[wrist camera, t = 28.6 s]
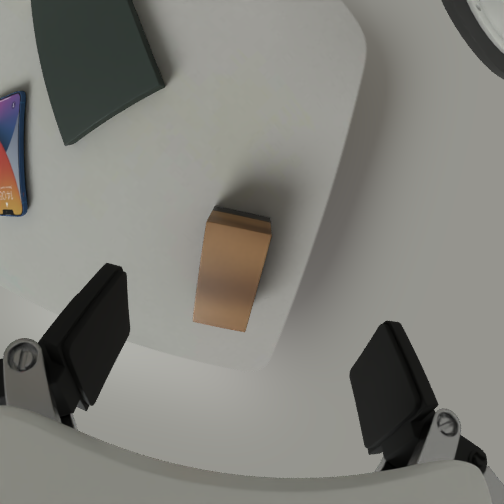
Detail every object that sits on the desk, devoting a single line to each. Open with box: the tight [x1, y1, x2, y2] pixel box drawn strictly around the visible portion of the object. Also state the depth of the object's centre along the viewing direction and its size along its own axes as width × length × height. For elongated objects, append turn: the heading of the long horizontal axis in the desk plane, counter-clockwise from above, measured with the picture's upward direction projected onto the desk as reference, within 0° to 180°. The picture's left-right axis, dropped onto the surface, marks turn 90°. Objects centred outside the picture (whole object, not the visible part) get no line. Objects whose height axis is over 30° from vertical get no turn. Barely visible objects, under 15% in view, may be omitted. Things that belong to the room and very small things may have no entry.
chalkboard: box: [31, 0, 165, 146], centre depth 15 cm, size 11×24×2 cm, turn 20°
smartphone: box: [0, 91, 27, 217], centre depth 21 cm, size 7×15×1 cm, turn 174°
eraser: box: [193, 206, 272, 332], centre depth 25 cm, size 10×5×4 cm, turn 168°
